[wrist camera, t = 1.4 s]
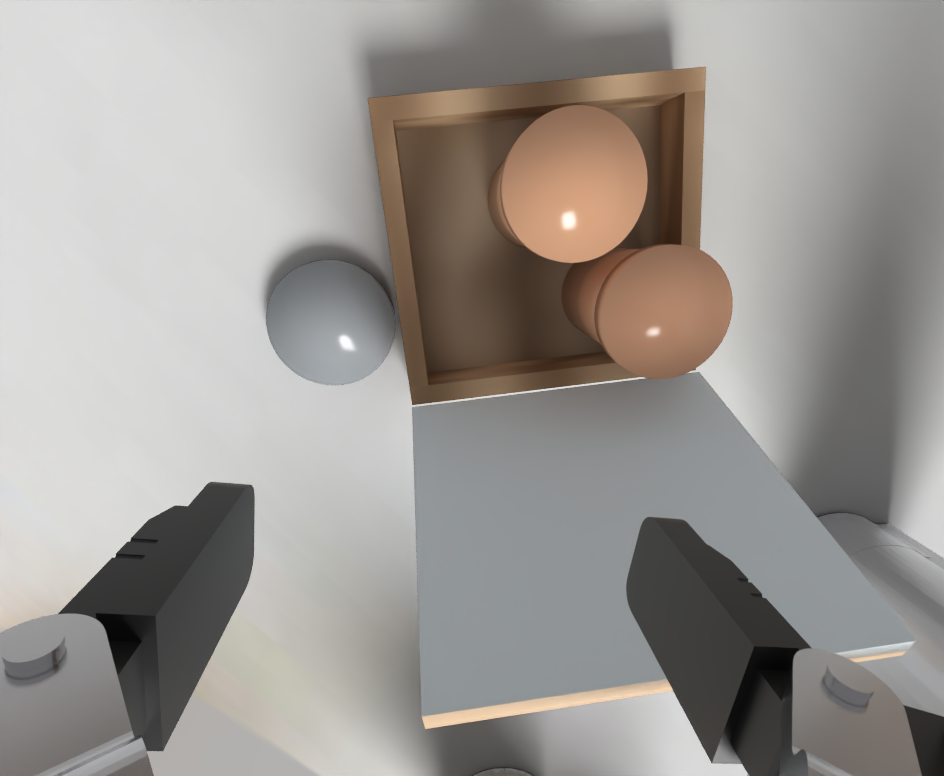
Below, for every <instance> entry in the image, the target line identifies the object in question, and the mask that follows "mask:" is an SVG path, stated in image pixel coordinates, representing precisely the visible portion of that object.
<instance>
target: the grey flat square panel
mask: <svg viewBox="0 0 944 776" xmlns="http://www.w3.org/2000/svg"><path fill="white" fill-rule="evenodd" d="M412 420H413V453H414V486H415V519H416V552H417V585H418V619H419V652H420V685H421V717H422V720H423V723H424V726H425V729H429V728H435V727H442V726H448V725H454V724H461V723H467V722H474V721H480V720H487V719H493V718H500V717H506V716H513V715H519V714H526V713H532V712H539V711H545V710H552V709H558V708H565V707H571V706H577V705H584V704H590V703H597V702H603V701H610V700H616V699H623V698H629V697H636V696H642V695H649V694H655V693H662V692H668V691H673V689H672V687H671V686H670V684H669V682H668V680H667V678H666V676H665V674H664V672H663V671H662V669H661V667H660V665H659V663H658V661H657V659H656V657H655V656H654V654H653V652H652V650H651V648H650V646H649V644H648V642H647V640H646V639H645V637H644V635H643V633H642V631H641V629H640V627H639V625H638V624H637V622H636V620H635V618H634V616H633V614H632V612H631V610H630V608H629V605H628V601H627V594H626V583H627V577H628V573H629V569H630V565H631V561H632V557H633V554H634V550H635V546H636V542H637V538H638V534H639V531H640V527H641V524H642V522H643V521H644V519H645V518H647V517H659V518H672V519H682V520H685V521H686V522H687V523H688V524H689V525H690V526H691V527H692V528H693V529H694V531H695V532H696V533H697V534H698V535H699V536H700V537H701V538H702V540H703V541H704V542H705V543H706V544H707V545H709V546H711V547H712V548H714V549H715V550H717V551H718V552H720V553H721V554H723V555H724V556H725V557H727V558H728V559H730V560H731V561H732V562H733V563H734V564H735V565H736V566H737V567H738V568H739V569H740V570H741V571H742V573H743V574H744V575H745V576H746V577H747V578H748V582H752V583H753V585H754V586H755V587H756V588H757V589H758V590H759V591H760V592H761V593H762V597H763V598H766V599H767V600H768V601H769V602H770V603H771V604H772V605H773V606H774V607H775V608H776V610H777V611H778V612H779V613H780V614H781V615H782V616H783V617H784V618H785V619H786V620H787V622H788V623H789V624H790V625H791V626H792V627H793V628H794V629H795V630H796V631H797V632H798V633H799V635H800V636H801V637H802V638H803V639H804V640H805V641H806V642H807V643H808V644H809V645H810V647H811V648H814V649H821V650H826V651H829V652H833V653H836V654H838V655H841V656H843V657H846V658H848V659H850V660H852V661H854V662H855V663H856V662H862V661H869V660H875V659H882V658H888V657H895V656H901V655H903V654H904V653H905V652H906V651H907V650H908V649H909V648H910V647H911V646H912V645H913V644H914V643H915V642H916V640H915V638H914V637H913V636H912V635H911V633H910V632H909V631H908V630H907V628H906V627H905V626H904V625H903V623H902V622H901V621H900V620H899V619H898V617H897V616H896V615H895V614H894V612H893V611H892V610H891V609H890V607H889V606H888V605H887V604H886V602H885V601H884V600H883V599H882V597H881V596H880V595H879V594H878V593H877V591H876V590H875V589H874V588H873V586H872V585H871V584H870V583H869V581H868V580H867V579H866V578H865V576H864V575H863V574H862V573H861V572H860V570H859V569H858V568H857V567H856V565H855V564H854V563H853V562H852V560H851V559H850V558H849V557H848V555H847V554H846V553H845V552H844V550H843V549H842V548H841V547H840V546H839V544H838V543H837V542H836V541H835V539H834V538H833V537H832V536H831V534H830V533H829V532H828V531H827V529H826V528H825V527H824V526H823V525H822V523H821V522H820V521H819V520H818V518H817V517H816V516H815V515H814V513H813V512H812V511H811V510H810V508H809V507H808V506H807V505H806V503H805V502H804V501H803V500H802V499H801V497H800V496H799V495H798V494H797V492H796V491H795V490H794V489H793V487H792V486H791V485H790V484H789V482H788V481H787V480H786V479H785V478H784V476H783V475H782V474H781V473H780V471H779V470H778V469H777V468H776V466H775V465H774V464H773V463H772V461H771V460H770V459H769V458H768V456H767V455H766V454H765V453H764V452H763V450H762V449H761V448H760V447H759V445H758V444H757V443H756V442H755V440H754V439H753V438H752V437H751V435H750V434H749V433H748V432H747V430H746V429H745V428H744V427H743V426H742V424H741V423H740V422H739V421H738V419H737V418H736V417H735V416H734V414H733V413H732V412H731V411H730V409H729V408H728V407H727V406H726V405H725V403H724V402H723V401H722V400H721V398H720V397H719V396H718V395H717V393H716V392H715V391H714V390H713V388H712V387H711V386H710V385H709V383H708V382H707V381H706V380H705V379H704V377H703V376H702V375H701V374H700V372H695V373H687V374H683V375H680V376H677V377H673V378H667V379H650V378H647V379H638V380H630V381H622V382H614V383H606V384H598V385H590V386H582V387H574V388H565V389H557V390H549V391H541V392H533V393H525V394H517V395H509V396H501V397H492V398H484V399H476V400H468V401H460V402H452V403H444V404H436V405H428V406H419V407H412Z"/></svg>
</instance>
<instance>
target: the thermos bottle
mask: <svg viewBox="0 0 944 776" xmlns="http://www.w3.org/2000/svg"><path fill="white" fill-rule="evenodd" d="M473 776H532V775H530V774H528V773H527V772H524V771H521V770H518V769H512V768H496V769H490V770H486V771H482V772H480V773H478V774H475V775H473Z"/></svg>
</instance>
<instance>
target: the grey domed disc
mask: <svg viewBox="0 0 944 776" xmlns="http://www.w3.org/2000/svg"><path fill="white" fill-rule="evenodd" d="M266 325H267V331H268V335H269V339H270V342H271V344H272V346H273V348H274V350H275V352H276V353H277V355H278V356H279V358H280V359H281V360H282V361H283V362H284V363H285V364H286V365H287V366H288V367H289V368H290V369H291V370H292V371H294V372H295V373H296V374H298V375H300V376H301V377H303V378H305V379H307V380H310V381H313V382H316V383H319V384H325V385H344V384H349V383H353V382H356V381H359V380H361V379H363V378H365V377H366V376H368V375H370V374H371V373H372V372H373V371H375V370H376V369H377V368H378V367H379V366H380V365H381V364H382V362H383V361H384V359H385V358H386V356H387V354H388V352H389V350H390V348H391V345H392V342H393V339H394V334H395V314H394V309H393V306H392V303H391V300H390V298H389V296H388V294H387V292H386V291H385V289H384V288H383V287H382V285H381V284H380V283H379V282H378V281H377V280H376V279H375V278H374V277H373V276H372V275H371V274H370V273H368V272H367V271H365V270H364V269H362V268H360V267H358V266H356V265H353V264H351V263H348V262H344V261H339V260H321V261H315V262H311V263H308V264H305V265H302V266H300V267H298V268H296V269H294V270H293V271H291V272H290V273H288V274H287V275H286V276H285V277H284V278H283V279H282V280H281V281H280V282H279V283H278V284H277V286H276V287H275V289H274V291H273V292H272V295H271V297H270V299H269V303H268V307H267V314H266Z"/></svg>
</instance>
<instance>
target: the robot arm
mask: <svg viewBox="0 0 944 776" xmlns="http://www.w3.org/2000/svg"><path fill="white" fill-rule="evenodd" d="M254 499H255V498H254V489H253V487H252V485H245V484H233V483H220V482H210V483H208V484H207V485H206V486H205V487H204V489H203V490H202V491H201V492H200V493H199V494H198V495H197V497H196V498H195V499H194V500H193V501H192V502H191V504H190V505H189V506H173V507H172V508H170V509H168V510H166V511H164V512H162V513H161V514H159V515H157V516H155V517H153V518H151V519H149V520H148V521H147V522H146V523H145V524H144V525H143V526H142V527H141V528H140V529H139V531H138V532H137V533H136V534H135V535H134V536H133V537H132V538H131V541H130V542H127V543H126V544H125V545H124V546H123V547H122V548H121V549H120V550H119V551H118V552H117V553H116V557H115V558H111V560H110V561H109V562H108V563H107V564H106V565H105V566H104V567H103V568H102V569H101V570H100V571H99V572H98V573H97V574H96V575H95V576H94V577H93V578H92V579H91V580H90V581H89V582H88V583H87V584H86V585H85V586H84V588H83V589H82V590H81V591H80V592H79V593H78V594H77V595H76V596H75V597H74V598H73V599H72V600H71V601H70V602H69V603H68V604H67V605H66V606H65V607H64V608H63V609H62V610H61V611H60V612H59V613H58V614H55V615H50V616H44V617H40V618H37V619H33V620H30V621H27V622H24V623H21V624H18V625H16V626H14V627H12V628H9V629H7V630H5V631H3V632H1V633H0V776H154V775H153V772H152V768H151V765H150V761H149V758H148V754H147V751H163V750H164V748H165V746H166V744H167V742H168V740H169V738H170V736H171V734H172V732H173V730H174V728H175V726H176V724H177V722H178V721H179V718H180V716H181V715H182V713H183V711H184V709H185V707H186V705H187V703H188V701H189V699H190V697H191V695H192V693H193V691H194V689H195V687H196V685H197V683H198V681H199V679H200V677H201V675H202V673H203V671H204V669H205V668H206V666H207V664H208V662H209V660H210V658H211V656H212V654H213V652H214V650H215V648H216V646H217V644H218V642H219V640H220V638H221V636H222V634H223V632H224V630H225V628H226V626H227V624H228V622H229V620H230V618H231V616H232V614H233V613H234V611H235V609H236V607H237V605H238V603H239V601H240V599H241V597H242V595H243V593H244V591H245V589H246V587H247V584H248V581H249V578H250V575H251V570H252V565H253V558H254ZM817 518H818V520H819V521H820V522H821V523H822V525H823V526H824V527H825V528H826V529H827V531H828V532H829V533H830V534H831V536H832V537H833V538H834V539H835V541H836V542H837V543H838V544H839V546H840V547H841V548H842V549H843V550H844V552H845V553H846V554H847V555H848V557H849V558H850V559H851V560H852V562H853V563H854V564H855V565H856V567H857V568H858V569H859V570H860V572H861V573H862V574H863V575H864V576H865V578H866V579H867V580H868V581H869V583H870V584H871V585H872V586H873V588H874V589H875V590H876V591H877V593H878V594H879V595H880V596H881V597H882V599H883V600H884V601H885V602H886V604H887V605H888V606H889V607H890V609H891V610H892V611H893V612H894V614H895V615H896V616H897V617H898V619H899V620H900V621H901V622H902V623H903V625H904V626H905V627H906V628H907V630H908V631H909V632H910V633H911V635H912V636H913V637H914V638H915V640H916V642H915V643H914V644H913V645H912V646H911V647H910V648H909V649H908V650H907V651H906V652H905V653H904V654H903V655H901V656H895V657H888V658H882V659H875V660H869V661H862V662H856V663H855V662H854V661H852V660H850V659H848V658H846V657H843V656H841V655H838V654H836V653H833V652H829V651H826V650H821V649H814V648H811V647H810V645H809V644H808V643H807V642H806V641H805V640H804V639H803V638H802V637H801V636H800V635H799V633H798V632H797V631H796V630H795V629H794V628H793V627H792V626H791V625H790V624H789V623H788V622H787V620H786V619H785V618H784V617H783V616H782V615H781V614H780V613H779V612H778V611H777V610H776V608H775V607H774V606H773V605H772V604H771V603H770V602H769V601H768V600H767V599H766V598H763V597H762V593H761V592H760V591H759V590H758V589H757V588H756V587H755V586H754V585H753V583H752V582H748V578H747V577H746V576H745V575H744V574H743V573H742V571H741V570H740V569H739V568H738V567H737V566H736V565H735V564H734V563H733V562H732V561H731V560H730V559H728V558H727V557H725V556H724V555H723V554H721V553H720V552H718V551H717V550H715V549H714V548H712V547H711V546H709V545H707V544H706V543H705V542H704V541H703V540H702V538H701V537H700V536H699V535H698V534H697V533H696V532H695V531H694V529H693V528H692V527H691V526H690V525H689V524H688V523H687V522H686V521H685V520H682V519H672V518H659V517H647V518H645V519H644V521H643V522H642V524H641V527H640V531H639V534H638V538H637V542H636V546H635V550H634V554H633V557H632V561H631V565H630V569H629V573H628V577H627V583H626V594H627V601H628V605H629V608H630V610H631V612H632V614H633V616H634V618H635V620H636V622H637V624H638V625H639V627H640V629H641V631H642V633H643V635H644V637H645V639H646V640H647V642H648V644H649V646H650V648H651V650H652V652H653V654H654V656H655V657H656V659H657V661H658V663H659V665H660V667H661V669H662V671H663V672H664V674H665V676H666V678H667V680H668V682H669V684H670V686H671V687H672V689H673V691H674V693H675V695H676V697H677V699H678V701H679V702H680V704H681V706H682V708H683V710H684V712H685V714H686V716H687V717H688V719H689V721H690V723H691V725H692V727H693V729H694V731H695V732H696V734H697V736H698V738H699V740H700V742H701V744H702V746H703V748H704V749H705V751H706V753H707V755H708V757H709V759H710V761H711V763H722V764H743V766H744V768H745V769H746V771H747V773H748V775H747V776H944V558H942V557H941V556H939V555H938V554H936V553H934V552H933V551H931V550H930V549H928V548H927V547H925V546H923V545H922V544H920V543H919V542H917V541H916V540H914V539H912V538H911V537H909V536H908V535H906V534H905V533H903V532H901V531H900V530H898V529H897V528H895V527H894V526H892V525H890V524H875V523H872V522H871V521H869V520H868V519H866V518H864V517H862V516H859V515H855V514H851V513H834V514H827V515H823V516H820V517H817Z"/></svg>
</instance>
